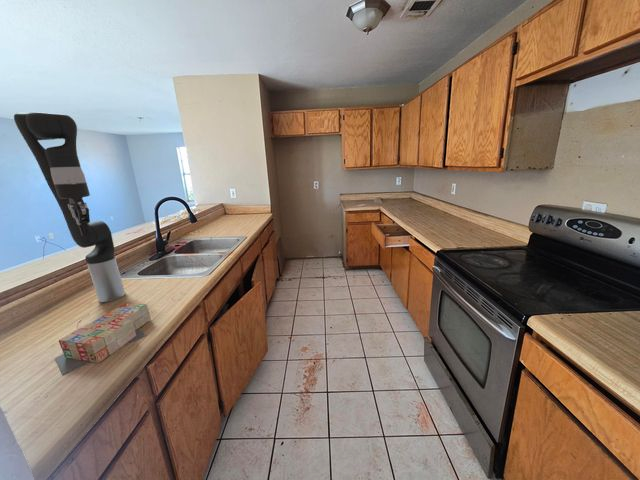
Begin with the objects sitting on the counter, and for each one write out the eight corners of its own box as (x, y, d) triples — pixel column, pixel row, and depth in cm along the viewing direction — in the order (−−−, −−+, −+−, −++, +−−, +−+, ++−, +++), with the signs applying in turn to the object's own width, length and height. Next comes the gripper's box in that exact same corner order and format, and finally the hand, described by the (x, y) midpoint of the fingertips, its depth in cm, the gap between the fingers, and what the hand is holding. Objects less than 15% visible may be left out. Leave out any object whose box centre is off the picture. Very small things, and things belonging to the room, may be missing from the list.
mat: (54, 358, 76) (54, 358, 76) (133, 324, 91) (133, 324, 91) (63, 375, 69) (62, 374, 69) (146, 335, 84) (145, 334, 84)
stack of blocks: (125, 302, 93) (154, 304, 91) (130, 318, 95) (158, 320, 92) (57, 340, 73) (92, 344, 71) (64, 359, 75) (99, 363, 72)
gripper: (49, 183, 83) (67, 235, 87) (58, 183, 75) (76, 240, 80) (80, 181, 88) (95, 230, 93) (91, 181, 81) (106, 235, 85)
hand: (86, 235), depth 86 cm, fingers closed
